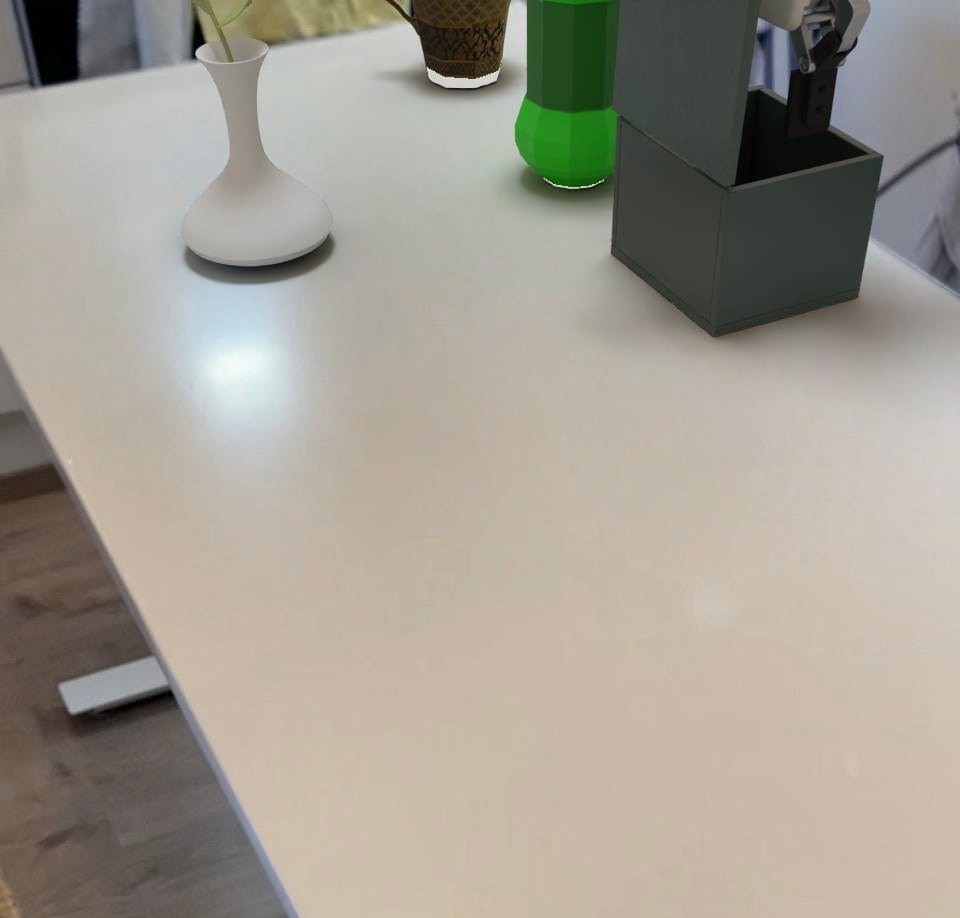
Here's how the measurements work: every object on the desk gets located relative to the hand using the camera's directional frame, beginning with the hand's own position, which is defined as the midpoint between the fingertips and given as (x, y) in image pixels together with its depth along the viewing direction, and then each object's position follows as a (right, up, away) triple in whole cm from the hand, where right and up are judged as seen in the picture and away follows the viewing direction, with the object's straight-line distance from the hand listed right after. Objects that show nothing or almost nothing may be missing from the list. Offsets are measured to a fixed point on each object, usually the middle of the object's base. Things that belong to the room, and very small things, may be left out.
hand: (763, 108), depth 93 cm
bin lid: (-6, +1, -6) cm, 8 cm away
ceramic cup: (-22, +21, +36) cm, 47 cm away
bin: (-1, -8, +8) cm, 11 cm away
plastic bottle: (-11, +5, +20) cm, 24 cm away
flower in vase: (-36, -4, +14) cm, 39 cm away
